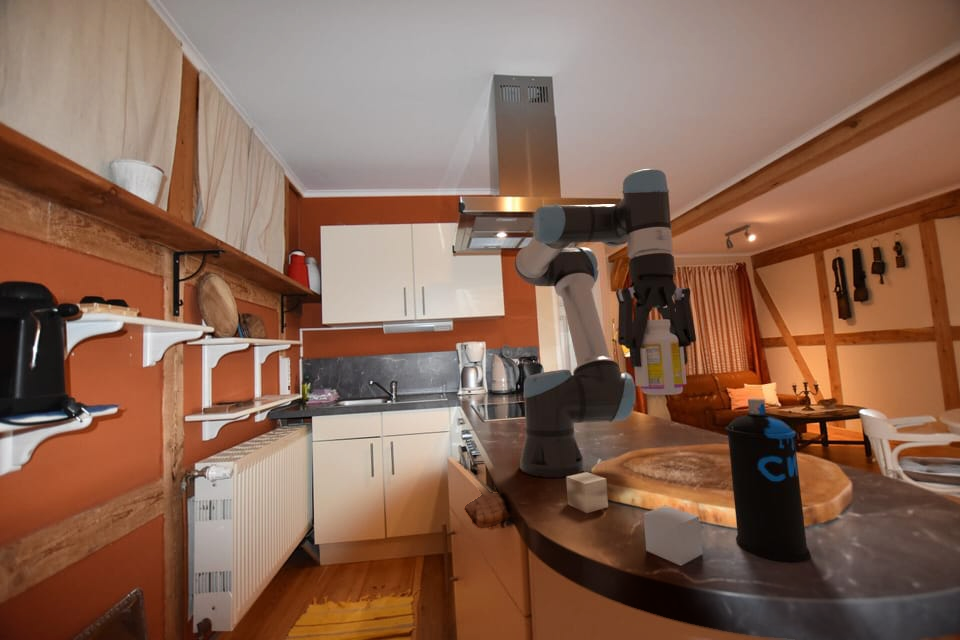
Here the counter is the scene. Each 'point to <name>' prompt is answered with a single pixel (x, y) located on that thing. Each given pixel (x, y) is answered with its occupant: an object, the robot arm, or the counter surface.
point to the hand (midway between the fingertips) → (660, 384)
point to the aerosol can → (766, 486)
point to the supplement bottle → (662, 359)
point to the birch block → (587, 492)
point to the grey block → (673, 534)
